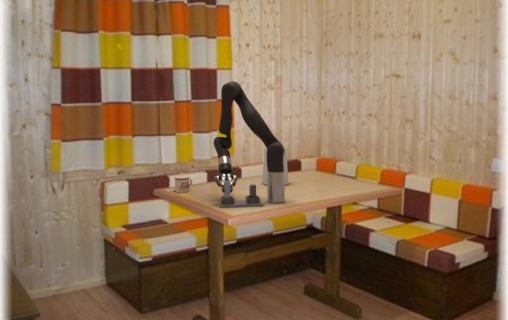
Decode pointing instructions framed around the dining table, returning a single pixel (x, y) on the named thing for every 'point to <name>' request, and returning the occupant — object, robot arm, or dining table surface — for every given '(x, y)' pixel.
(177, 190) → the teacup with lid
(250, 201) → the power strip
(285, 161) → the plastic bottle
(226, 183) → the plug
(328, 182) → the dining table surface
